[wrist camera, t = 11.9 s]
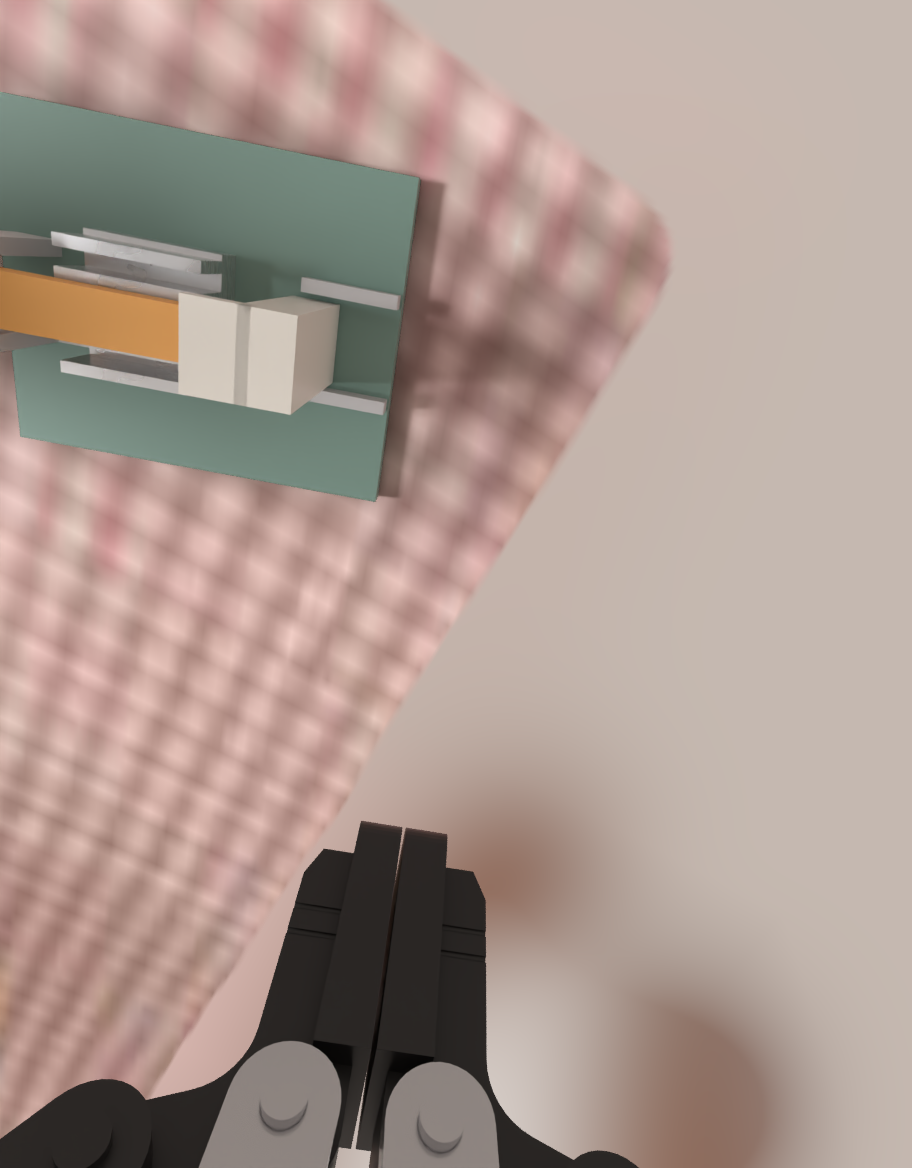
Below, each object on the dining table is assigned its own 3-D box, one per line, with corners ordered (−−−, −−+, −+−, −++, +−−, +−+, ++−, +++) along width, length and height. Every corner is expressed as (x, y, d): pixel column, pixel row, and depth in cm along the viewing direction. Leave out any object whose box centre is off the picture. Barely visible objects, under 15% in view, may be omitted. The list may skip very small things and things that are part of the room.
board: (32, 432, 36) (-87, 475, 28) (0, 94, 29) (-163, 35, 22) (378, 496, 36) (351, 554, 29) (420, 180, 30) (400, 152, 23)
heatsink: (109, 365, 33) (61, 377, 29) (104, 229, 31) (50, 224, 27) (231, 388, 33) (198, 403, 30) (235, 255, 31) (201, 254, 27)
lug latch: (245, 366, 33) (178, 393, 26) (248, 286, 31) (178, 292, 24) (332, 382, 33) (290, 414, 26) (340, 304, 31) (297, 315, 24)
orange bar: (-38, 314, 28) (-69, 317, 27) (-45, 257, 27) (-78, 256, 26) (257, 370, 29) (244, 376, 27) (260, 316, 28) (246, 319, 26)
